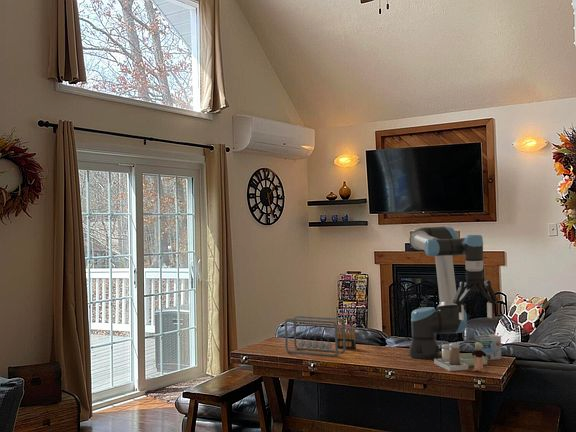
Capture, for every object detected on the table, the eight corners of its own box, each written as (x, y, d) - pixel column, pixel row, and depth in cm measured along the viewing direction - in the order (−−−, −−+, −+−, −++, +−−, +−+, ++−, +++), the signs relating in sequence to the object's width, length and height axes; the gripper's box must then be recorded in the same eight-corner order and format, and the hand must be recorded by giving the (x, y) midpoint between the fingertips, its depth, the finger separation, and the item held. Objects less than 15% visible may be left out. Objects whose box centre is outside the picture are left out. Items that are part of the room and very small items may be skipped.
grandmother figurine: (469, 371, 278) (468, 342, 278) (471, 369, 281) (470, 340, 282) (487, 372, 274) (486, 343, 274) (489, 370, 278) (488, 342, 278)
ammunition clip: (336, 348, 338) (335, 325, 338) (337, 347, 340) (336, 325, 340) (354, 349, 333) (354, 326, 333) (356, 348, 335) (355, 325, 335)
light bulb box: (481, 360, 298) (481, 337, 298) (474, 357, 305) (473, 335, 305) (502, 358, 301) (501, 336, 301) (494, 356, 307) (493, 333, 307)
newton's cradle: (285, 352, 330) (284, 318, 330) (295, 348, 339) (294, 315, 340) (337, 357, 315) (336, 321, 316) (346, 353, 324) (345, 318, 325)
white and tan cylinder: (448, 367, 286) (447, 343, 286) (457, 366, 287) (456, 342, 287) (452, 369, 282) (451, 345, 282) (461, 369, 283) (460, 344, 283)
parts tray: (451, 361, 299) (451, 354, 299) (474, 359, 301) (474, 352, 301) (463, 366, 287) (462, 359, 287) (487, 364, 290) (487, 358, 290)
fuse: (440, 363, 294) (439, 344, 294) (449, 363, 295) (448, 343, 295) (444, 366, 290) (444, 346, 290) (453, 365, 290) (453, 345, 290)
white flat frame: (434, 363, 295) (434, 357, 295) (452, 362, 297) (452, 356, 297) (449, 371, 279) (449, 365, 279) (468, 369, 281) (468, 363, 281)
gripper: (452, 272, 270) (453, 322, 270) (504, 269, 275) (506, 318, 275) (444, 270, 277) (445, 319, 277) (495, 268, 283) (496, 315, 283)
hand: (475, 318), depth 276 cm, fingers open, 13 cm apart
